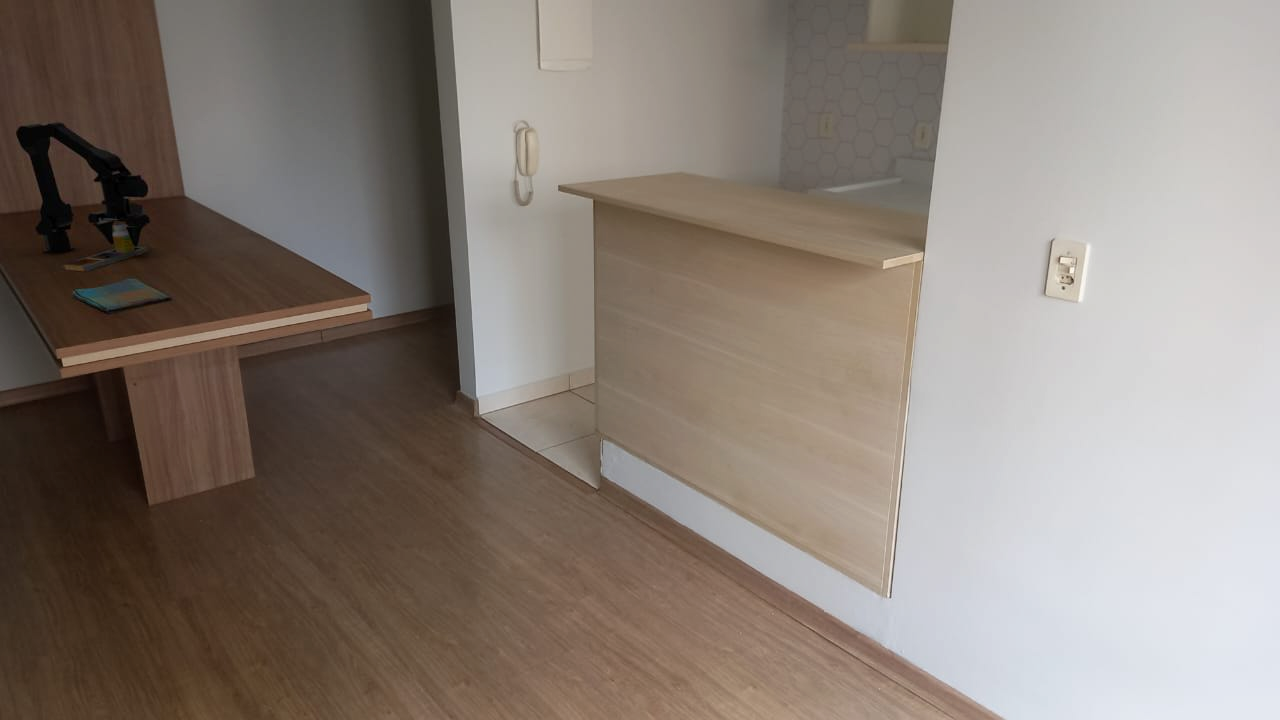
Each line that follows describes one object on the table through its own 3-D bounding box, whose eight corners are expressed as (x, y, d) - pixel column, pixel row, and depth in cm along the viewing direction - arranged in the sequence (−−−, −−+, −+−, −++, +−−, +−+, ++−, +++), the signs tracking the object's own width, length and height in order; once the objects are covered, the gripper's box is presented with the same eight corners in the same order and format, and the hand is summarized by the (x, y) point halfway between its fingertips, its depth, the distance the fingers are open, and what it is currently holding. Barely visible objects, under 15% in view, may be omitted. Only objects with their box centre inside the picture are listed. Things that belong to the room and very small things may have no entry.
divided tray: (63, 269, 271) (62, 264, 271) (125, 250, 293) (124, 245, 292) (86, 271, 269) (85, 266, 269) (147, 252, 291) (146, 247, 290)
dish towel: (137, 285, 259) (136, 276, 258) (174, 301, 245) (172, 292, 244) (72, 298, 247) (70, 289, 246) (106, 316, 232) (104, 307, 232)
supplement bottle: (127, 257, 285) (121, 226, 282) (112, 256, 286) (106, 226, 283) (139, 252, 290) (133, 223, 286) (125, 252, 291) (118, 222, 287)
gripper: (158, 193, 286) (167, 241, 292) (110, 189, 291) (120, 237, 297) (130, 199, 276) (140, 249, 282) (81, 196, 281) (92, 245, 287)
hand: (124, 245), depth 287 cm, fingers open, 9 cm apart
